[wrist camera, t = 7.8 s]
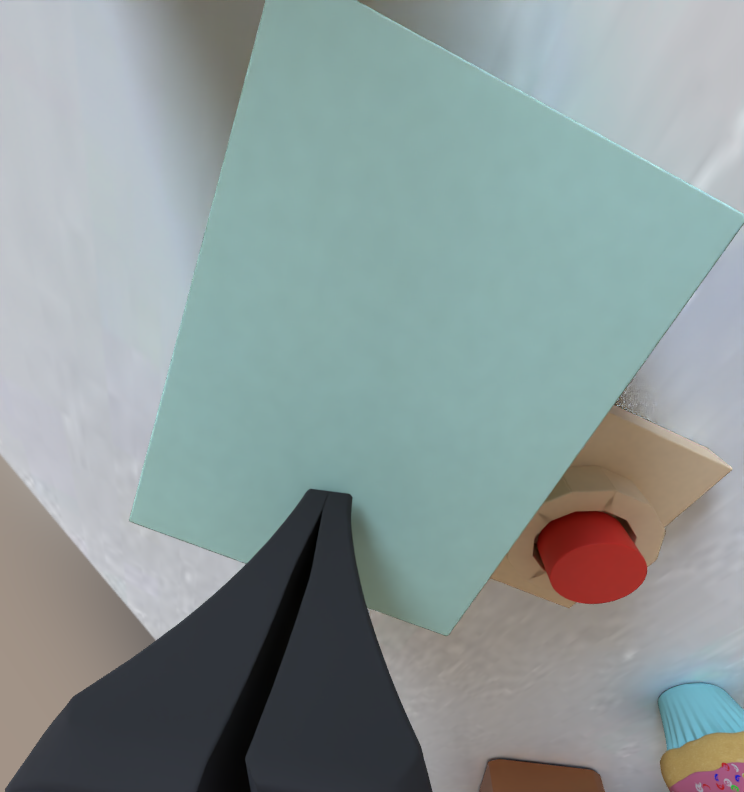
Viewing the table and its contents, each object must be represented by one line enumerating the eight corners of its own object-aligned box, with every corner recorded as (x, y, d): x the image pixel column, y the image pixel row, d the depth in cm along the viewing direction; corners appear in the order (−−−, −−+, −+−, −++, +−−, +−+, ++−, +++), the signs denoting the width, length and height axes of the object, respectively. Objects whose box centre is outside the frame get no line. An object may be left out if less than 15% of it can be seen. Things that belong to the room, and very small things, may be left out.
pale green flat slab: (443, 613, 14) (447, 637, 13) (146, 503, 13) (127, 522, 12) (714, 221, 10) (751, 216, 9) (288, -11, 8) (276, -47, 7)
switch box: (708, 447, 18) (768, 496, 15) (559, 584, 24) (581, 640, 21) (554, 377, 18) (585, 413, 14) (435, 535, 23) (439, 586, 20)
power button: (643, 528, 17) (669, 564, 16) (587, 577, 19) (605, 614, 17) (570, 497, 17) (589, 530, 15) (520, 551, 19) (531, 586, 17)
